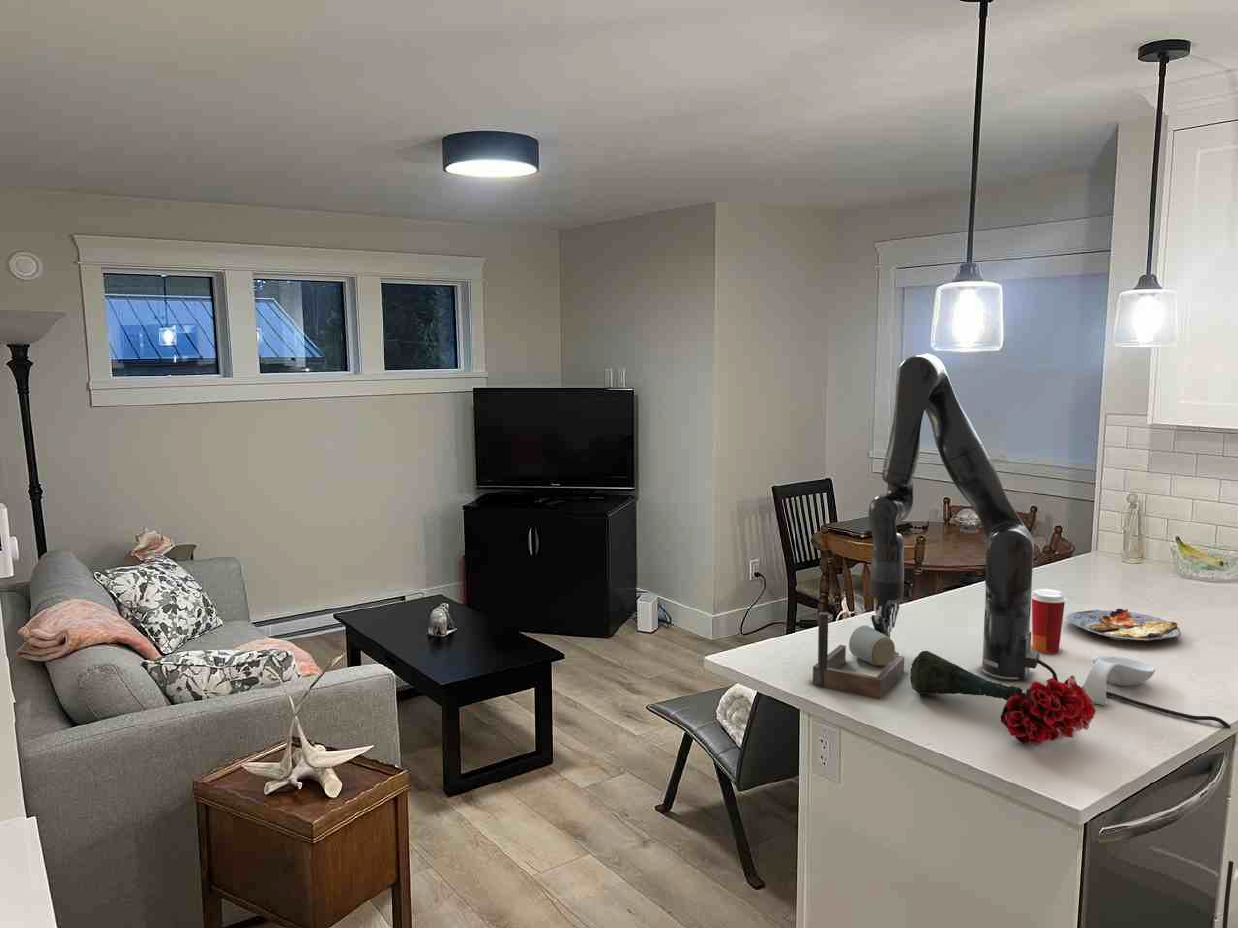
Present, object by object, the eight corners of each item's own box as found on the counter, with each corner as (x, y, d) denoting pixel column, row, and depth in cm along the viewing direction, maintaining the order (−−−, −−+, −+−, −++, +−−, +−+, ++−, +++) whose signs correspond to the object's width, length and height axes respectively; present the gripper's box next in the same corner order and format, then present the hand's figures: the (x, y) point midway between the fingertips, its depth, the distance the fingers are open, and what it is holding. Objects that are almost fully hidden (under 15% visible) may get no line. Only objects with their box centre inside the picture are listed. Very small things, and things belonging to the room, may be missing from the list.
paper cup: (1063, 646, 216) (1066, 590, 214) (1063, 657, 209) (1067, 598, 207) (1027, 642, 219) (1030, 586, 217) (1026, 652, 212) (1029, 595, 210)
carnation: (918, 729, 190) (1093, 780, 163) (879, 691, 179) (1058, 739, 153) (943, 662, 195) (1116, 701, 168) (906, 621, 185) (1084, 656, 158)
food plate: (1122, 613, 241) (1123, 600, 240) (1202, 640, 219) (1203, 626, 218) (1047, 623, 233) (1047, 610, 233) (1122, 652, 211) (1123, 638, 211)
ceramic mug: (872, 670, 202) (874, 637, 201) (847, 659, 209) (848, 627, 208) (907, 662, 207) (908, 630, 206) (881, 652, 214) (882, 620, 213)
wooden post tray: (903, 673, 200) (906, 604, 198) (879, 699, 186) (881, 624, 184) (839, 661, 208) (841, 594, 206) (812, 684, 195) (813, 613, 192)
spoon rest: (1102, 666, 203) (1104, 636, 202) (1161, 680, 194) (1163, 648, 193) (1063, 696, 186) (1065, 663, 185) (1126, 713, 178) (1128, 678, 177)
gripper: (893, 586, 203) (890, 659, 206) (912, 573, 214) (908, 643, 217) (861, 581, 208) (858, 652, 210) (881, 568, 218) (878, 636, 221)
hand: (883, 647), depth 213 cm, fingers closed
